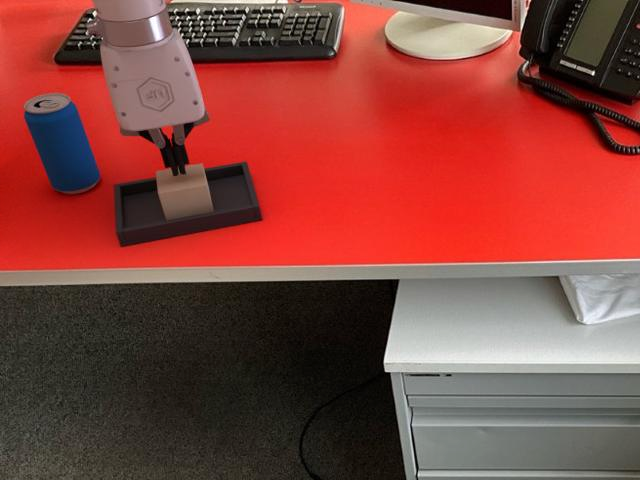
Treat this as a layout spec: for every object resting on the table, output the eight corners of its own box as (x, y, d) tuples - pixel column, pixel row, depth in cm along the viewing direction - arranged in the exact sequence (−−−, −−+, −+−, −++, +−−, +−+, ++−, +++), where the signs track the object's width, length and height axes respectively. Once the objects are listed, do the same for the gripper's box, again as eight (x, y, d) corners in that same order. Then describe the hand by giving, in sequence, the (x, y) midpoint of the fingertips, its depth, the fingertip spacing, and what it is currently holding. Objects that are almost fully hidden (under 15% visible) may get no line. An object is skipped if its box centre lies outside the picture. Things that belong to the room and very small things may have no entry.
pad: (166, 220, 115) (157, 193, 112) (163, 197, 119) (155, 171, 116) (213, 211, 116) (206, 184, 113) (209, 189, 120) (202, 162, 118)
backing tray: (120, 246, 111) (115, 232, 110) (118, 198, 120) (113, 184, 119) (262, 220, 116) (259, 205, 114) (250, 174, 124) (246, 161, 123)
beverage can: (75, 170, 126) (45, 88, 118) (112, 177, 124) (84, 95, 116) (42, 192, 122) (8, 109, 114) (80, 200, 120) (48, 116, 112)
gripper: (67, 48, 98) (119, 195, 110) (206, 28, 101) (241, 173, 113) (68, 24, 103) (117, 167, 115) (200, 6, 106) (234, 147, 119)
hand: (179, 170), depth 114 cm, fingers closed
